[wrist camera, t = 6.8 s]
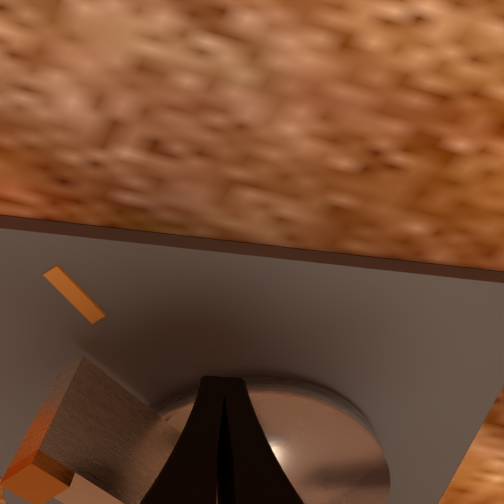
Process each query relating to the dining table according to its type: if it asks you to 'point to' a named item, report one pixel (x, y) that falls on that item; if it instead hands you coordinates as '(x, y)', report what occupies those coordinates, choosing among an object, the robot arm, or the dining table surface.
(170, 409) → the dial
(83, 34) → the dining table surface
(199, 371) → the dial board
